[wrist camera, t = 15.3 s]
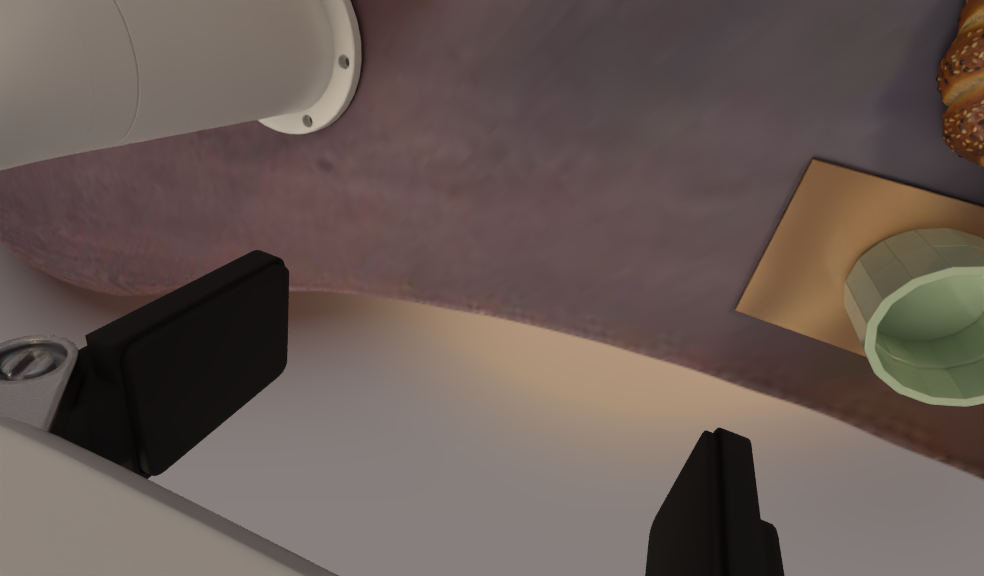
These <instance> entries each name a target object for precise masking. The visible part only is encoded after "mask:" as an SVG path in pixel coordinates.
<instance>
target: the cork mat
mask: <svg viewBox="0 0 984 576" xmlns="http://www.w3.org/2000/svg"><path fill="white" fill-rule="evenodd" d="M935 228H951V229H955V230H958V231H962V232H965V233H968V234H972V235H975V236H979V237H980V238H982V239H984V206H981V205H977V204H974V203H970V202H967V201H963V200H960V199H956V198H953V197H949V196H945V195H942V194H938V193H935V192H931V191H928V190H924V189H920V188H917V187H913V186H910V185H906V184H903V183H899V182H896V181H892V180H888V179H885V178H881V177H878V176H874V175H871V174H867V173H863V172H860V171H856V170H853V169H849V168H846V167H842V166H839V165H835V164H831V163H828V162H824V161H821V160H817V159H814V158H812V159H811V161H810V163H809V165H808V167H807V169H806V171H805V173H804V175H803V177H802V178H801V180H800V182H799V184H798V186H797V188H796V190H795V192H794V194H793V196H792V198H791V200H790V202H789V204H788V206H787V208H786V210H785V212H784V214H783V216H782V217H781V219H780V221H779V223H778V225H777V227H776V229H775V231H774V233H773V235H772V237H771V239H770V241H769V243H768V245H767V247H766V249H765V251H764V253H763V255H762V256H761V258H760V260H759V262H758V264H757V266H756V268H755V270H754V272H753V274H752V276H751V278H750V280H749V282H748V284H747V286H746V288H745V290H744V292H743V294H742V295H741V297H740V299H739V301H738V303H737V305H736V307H735V310H736V311H738V312H741V313H744V314H747V315H749V316H752V317H755V318H758V319H761V320H764V321H766V322H769V323H772V324H775V325H778V326H781V327H783V328H786V329H789V330H792V331H795V332H798V333H800V334H803V335H806V336H809V337H812V338H815V339H817V340H820V341H823V342H826V343H829V344H831V345H834V346H837V347H840V348H843V349H846V350H848V351H851V352H854V353H857V354H860V355H863V356H865V357H867V356H866V354H865V351H864V349H863V347H862V345H861V342H860V340H859V338H858V336H857V333H856V331H855V329H854V327H853V324H852V322H851V320H850V318H849V315H848V313H847V311H846V309H845V306H844V303H843V302H844V291H845V281H846V279H847V277H848V276H849V274H850V272H851V271H852V269H853V267H854V266H855V264H856V263H857V261H858V259H860V257H862V256H863V255H864V254H865V253H866V252H867V251H868V250H870V249H871V248H872V247H874V246H875V245H877V244H878V243H880V242H882V241H883V240H885V239H887V238H890V237H892V236H895V235H897V234H900V233H904V232H907V231H912V230H915V229H935Z"/></svg>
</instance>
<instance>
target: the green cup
mask: <svg viewBox="0 0 984 576" xmlns="http://www.w3.org/2000/svg"><path fill="white" fill-rule="evenodd" d="M843 303H844V306H845V309H846V311H847V313H848V315H849V318H850V320H851V322H852V324H853V327H854V329H855V331H856V333H857V336H858V338H859V340H860V342H861V345H862V347H863V349H864V351H865V354H866V356H867V358H868V360H869V362H870V365H871V367H872V369H873V371H874V373H875V374H876V375H877V376H878V377H879V378H880V379H882V380H883V381H884V382H885V383H886V384H888V385H889V386H890V387H891V388H892V389H894V390H895V391H896V392H898V393H900V394H903V395H905V396H908V397H911V398H914V399H916V400H919V401H922V402H925V403H927V404H934V405H949V406H964V407H965V406H972V405H978V404H983V403H984V239H982V238H980V237H979V236H975V235H972V234H968V233H965V232H962V231H958V230H955V229H951V228H935V229H915V230H912V231H907V232H904V233H900V234H897V235H895V236H892V237H890V238H887V239H885V240H883V241H882V242H880V243H878V244H877V245H875V246H874V247H872V248H871V249H870V250H868V251H867V252H866V253H865V254H864V255H863V256H862V257H860V259H858V261H857V263H856V264H855V266H854V267H853V269H852V271H851V272H850V274H849V276H848V277H847V279H846V281H845V291H844V302H843Z"/></svg>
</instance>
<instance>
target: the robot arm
mask: <svg viewBox="0 0 984 576" xmlns="http://www.w3.org/2000/svg"><path fill="white" fill-rule="evenodd" d="M361 61H362V55H361V38H360V32H359V27H358V22H357V18H356V15H355V12H354V9H353V6H352V3H351V1H350V0H0V171H1V170H5V169H9V168H13V167H17V166H21V165H25V164H29V163H33V162H38V161H43V160H48V159H52V158H57V157H62V156H67V155H72V154H77V153H82V152H87V151H93V150H98V149H103V148H110V147H116V146H121V145H127V144H132V143H137V142H142V141H147V140H153V139H158V138H163V137H169V136H174V135H179V134H185V133H190V132H195V131H201V130H206V129H211V128H217V127H222V126H227V125H233V124H238V123H243V122H249V121H254V120H258V121H259V122H261V123H262V124H264V125H265V126H267V127H270V128H272V129H274V130H276V131H279V132H283V133H288V134H306V133H310V132H315V131H318V130H320V129H323V128H325V127H328V126H329V125H331V124H332V123H333V122H335V121H336V120H337V119H339V117H340V116H341V115H342V114H343V113H344V111H345V110H346V109H347V108H348V106H349V104H350V102H351V100H352V98H353V96H354V94H355V91H356V88H357V85H358V81H359V78H360V70H361ZM288 295H289V271H288V269H287V268H286V267H285V264H284V262H283V260H282V259H281V258H278V257H276V256H273V255H271V254H268V253H265V252H263V251H260V250H255V251H252V252H250V253H248V254H246V255H244V256H242V257H240V258H238V259H236V260H234V261H232V262H230V263H228V264H226V265H224V266H222V267H220V268H218V269H216V270H214V271H212V272H210V273H208V274H206V275H204V276H202V277H201V278H199V279H197V280H195V281H193V282H191V283H189V284H187V285H185V286H183V287H181V288H179V289H177V290H175V291H173V292H171V293H169V294H167V295H165V296H163V297H161V298H159V299H157V300H155V301H153V302H151V303H149V304H147V305H145V306H143V307H141V308H139V309H137V310H135V311H133V312H131V313H129V314H128V315H125V316H123V317H121V318H119V319H117V320H115V321H113V322H111V323H109V324H107V325H105V326H103V327H101V328H99V329H97V330H95V331H93V332H91V333H89V334H87V335H86V341H87V346H86V347H84V348H82V349H80V350H78V349H77V347H76V345H75V344H74V343H73V342H71V341H70V340H68V339H66V338H63V337H58V336H54V335H53V336H52V335H34V336H25V337H20V338H17V339H12V340H9V341H6V342H3V343H1V344H0V576H338V575H336V574H334V573H332V572H330V571H328V570H326V569H324V568H322V567H320V566H318V565H316V564H314V563H312V562H310V561H308V560H306V559H305V558H302V557H301V556H299V555H297V554H295V553H293V552H291V551H289V550H287V549H285V548H283V547H281V546H279V545H277V544H275V543H273V542H271V541H269V540H267V539H265V538H263V537H261V536H259V535H257V534H255V533H253V532H251V531H249V530H247V529H245V528H243V527H241V526H239V525H237V524H235V523H233V522H231V521H230V520H227V519H226V518H223V517H221V516H220V515H217V514H216V513H214V512H212V511H210V510H207V509H206V508H204V507H202V506H200V505H198V504H196V503H194V502H192V501H190V500H187V499H186V498H184V497H182V496H180V495H178V494H176V493H173V492H172V491H170V490H168V489H165V488H164V487H162V486H159V485H158V484H155V483H154V482H152V481H150V480H148V478H149V477H151V476H157V475H159V474H161V473H163V472H164V471H166V470H167V469H168V468H169V467H170V466H172V465H173V464H174V463H175V462H176V461H178V460H179V459H180V458H181V457H182V456H184V455H185V454H186V453H187V452H188V451H189V450H191V449H192V448H193V447H194V446H196V445H197V444H198V443H199V442H200V441H202V440H203V439H204V438H205V437H206V436H207V435H209V434H210V433H211V432H212V431H214V430H215V429H216V428H217V427H218V426H220V425H221V424H222V423H223V422H224V421H226V420H227V419H228V418H229V417H230V416H232V415H233V414H234V413H235V412H236V411H237V410H239V409H240V408H241V407H242V406H244V405H245V404H246V403H247V402H249V401H250V400H251V399H252V398H253V397H255V396H256V395H257V394H258V393H259V392H261V391H262V390H263V389H264V388H265V387H267V386H268V385H269V384H270V383H271V382H273V381H274V380H275V379H276V378H277V377H278V376H279V375H280V374H281V373H282V372H283V371H284V369H285V367H286V364H287V344H288V299H289V296H288ZM645 576H784V570H783V564H782V558H781V551H780V546H779V538H778V534H777V530H776V528H775V527H774V526H773V524H770V523H768V522H766V521H763V520H761V519H760V511H759V503H758V495H757V487H756V479H755V471H754V463H753V455H752V446H751V442H750V440H749V439H748V438H745V437H743V436H740V435H738V434H735V433H733V432H730V431H727V430H725V429H722V428H717V429H716V430H715V431H714V433H712V432H709V431H704V432H703V433H702V435H701V437H700V438H699V440H698V442H697V444H696V445H695V447H694V449H693V451H692V453H691V454H690V456H689V458H688V460H687V461H686V463H685V465H684V467H683V469H682V470H681V472H680V474H679V476H678V478H677V479H676V481H675V483H674V485H673V487H672V488H671V490H670V492H669V494H668V495H667V497H666V499H665V501H664V503H663V504H662V506H661V508H660V510H659V512H658V513H657V515H656V517H655V519H654V521H653V524H652V527H651V530H650V535H649V544H648V554H647V564H646V574H645Z"/></svg>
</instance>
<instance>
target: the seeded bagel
mask: <svg viewBox="0 0 984 576" xmlns="http://www.w3.org/2000/svg"><path fill="white" fill-rule="evenodd" d="M958 21H959V25H958V35H957V36H956V38H955V40H954V41H953V43H952V44H951V45H950V47H949V48H948V50H947V51H946V53H945V55H944V56H943V58H942V59H941V60H940V62H939V69H938V72H937V78H936V80H937V81H938V88H937V90H938V91H939V93H941V96H942V99H943V102H944V104H945V105H947V106H948V107H949V108H948V109H947V110H946V112H945V114H944V115H943V116H942V117H941V118H942V133H943V134H942V137H943V139H944V140H945V143H946V145H947V146H949V147H951V148H952V151H953V152H956V153H957V154H958V156H959V157H964V158H966V159H967V160H968V161H969V162H974V163H976V164H978V165H979V166H983V167H984V0H967V1H966V4H965V6H964V7H963V9H962V10H961V17H960V18H959V19H958Z"/></svg>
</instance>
